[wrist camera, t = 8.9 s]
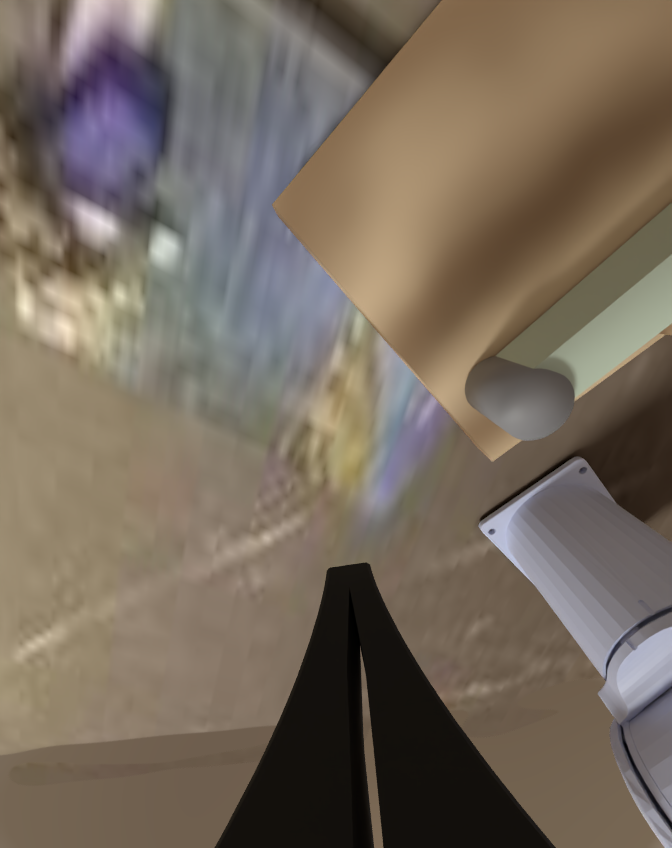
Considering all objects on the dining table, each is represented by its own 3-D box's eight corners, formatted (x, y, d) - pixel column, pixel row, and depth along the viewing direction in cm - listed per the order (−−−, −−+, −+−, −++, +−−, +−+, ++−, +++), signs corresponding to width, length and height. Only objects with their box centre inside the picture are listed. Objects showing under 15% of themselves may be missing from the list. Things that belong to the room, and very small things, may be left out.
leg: (486, 423, 17) (525, 453, 13) (453, 385, 16) (486, 408, 13) (766, 195, 13) (910, 162, 10) (743, 131, 12) (894, 71, 9)
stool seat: (754, 235, 16) (989, 201, 10) (476, 446, 20) (536, 504, 14) (615, -182, 11) (935, -707, 5) (278, 216, 15) (251, 166, 9)
